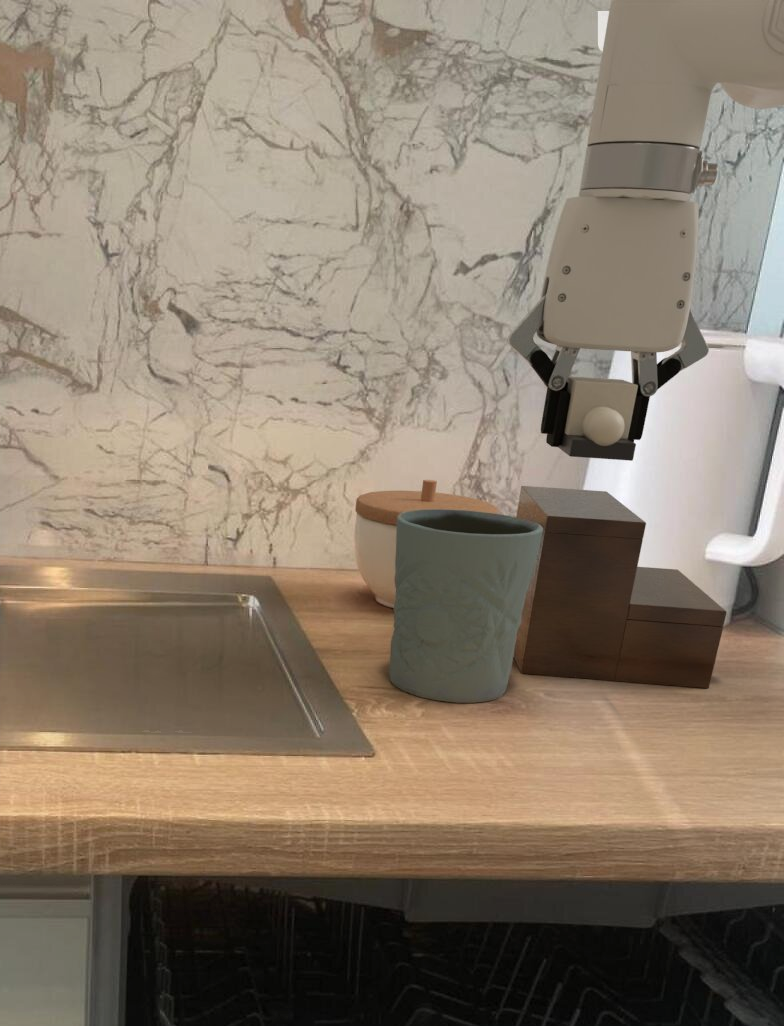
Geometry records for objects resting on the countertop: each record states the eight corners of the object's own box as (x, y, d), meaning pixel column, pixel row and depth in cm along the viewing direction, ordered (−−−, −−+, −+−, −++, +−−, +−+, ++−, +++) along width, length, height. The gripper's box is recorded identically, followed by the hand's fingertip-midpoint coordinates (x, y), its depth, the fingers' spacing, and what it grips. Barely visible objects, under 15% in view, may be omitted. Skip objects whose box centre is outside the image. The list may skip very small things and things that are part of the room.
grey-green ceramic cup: (406, 707, 83) (429, 534, 78) (359, 663, 92) (376, 505, 87) (540, 704, 85) (570, 535, 80) (481, 661, 94) (504, 507, 89)
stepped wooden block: (663, 638, 103) (693, 497, 98) (709, 688, 90) (746, 529, 85) (498, 625, 104) (521, 485, 99) (520, 673, 91) (547, 515, 87)
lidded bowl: (508, 619, 106) (528, 493, 102) (376, 622, 103) (391, 492, 99) (448, 585, 117) (464, 470, 113) (327, 586, 114) (338, 468, 110)
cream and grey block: (551, 442, 94) (563, 375, 92) (610, 446, 93) (622, 379, 91) (571, 457, 86) (584, 384, 84) (635, 462, 85) (650, 389, 83)
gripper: (744, 188, 86) (688, 448, 94) (507, 177, 88) (470, 434, 95) (779, 180, 79) (716, 461, 87) (522, 168, 81) (481, 445, 88)
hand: (588, 444), depth 91 cm, fingers closed on cream and grey block, 4 cm apart
